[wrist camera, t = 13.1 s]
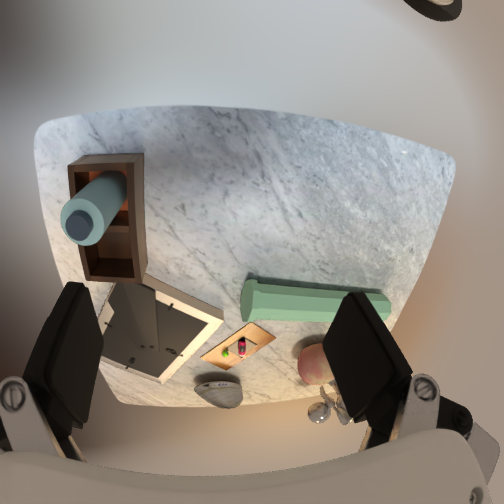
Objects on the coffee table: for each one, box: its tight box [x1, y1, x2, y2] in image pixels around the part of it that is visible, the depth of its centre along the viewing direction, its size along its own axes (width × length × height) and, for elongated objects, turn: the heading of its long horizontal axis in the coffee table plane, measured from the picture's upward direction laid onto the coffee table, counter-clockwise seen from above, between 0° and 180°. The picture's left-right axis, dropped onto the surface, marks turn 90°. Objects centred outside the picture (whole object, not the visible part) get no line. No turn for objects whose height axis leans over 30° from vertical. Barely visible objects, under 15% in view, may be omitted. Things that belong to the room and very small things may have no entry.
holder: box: [68, 153, 148, 284], centre depth 27 cm, size 7×14×4 cm, turn 173°
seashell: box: [194, 381, 243, 409], centre depth 48 cm, size 12×8×5 cm
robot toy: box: [308, 379, 353, 425], centre depth 47 cm, size 15×6×15 cm, turn 130°
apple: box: [298, 343, 334, 385], centre depth 44 cm, size 8×8×8 cm
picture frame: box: [98, 273, 224, 384], centre depth 38 cm, size 16×3×21 cm
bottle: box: [61, 171, 127, 246], centre depth 23 cm, size 4×4×10 cm
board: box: [200, 322, 276, 370], centre depth 44 cm, size 6×12×2 cm, turn 132°
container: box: [240, 279, 391, 322], centre depth 39 cm, size 6×6×25 cm
